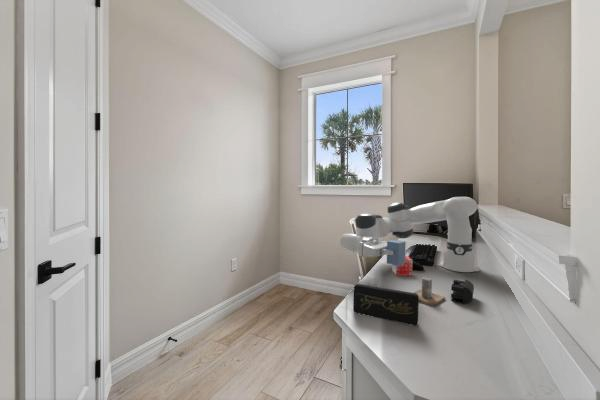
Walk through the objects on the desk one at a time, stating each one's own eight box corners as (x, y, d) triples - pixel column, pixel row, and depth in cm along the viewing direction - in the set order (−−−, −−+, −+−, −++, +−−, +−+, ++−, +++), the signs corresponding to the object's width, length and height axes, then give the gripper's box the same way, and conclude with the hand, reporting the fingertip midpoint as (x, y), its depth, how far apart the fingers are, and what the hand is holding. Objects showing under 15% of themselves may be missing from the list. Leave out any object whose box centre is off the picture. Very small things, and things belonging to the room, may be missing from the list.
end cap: (472, 306, 102) (473, 288, 101) (450, 301, 106) (451, 284, 105) (473, 297, 110) (474, 280, 109) (453, 293, 114) (454, 277, 113)
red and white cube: (412, 275, 136) (412, 259, 136) (396, 275, 137) (396, 259, 137) (407, 270, 144) (407, 255, 144) (392, 270, 145) (392, 255, 145)
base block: (408, 298, 108) (408, 278, 108) (419, 291, 115) (420, 273, 115) (434, 306, 101) (434, 285, 101) (444, 299, 108) (445, 279, 107)
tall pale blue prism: (386, 263, 116) (387, 241, 116) (393, 260, 120) (393, 239, 119) (398, 266, 112) (399, 243, 112) (405, 263, 116) (405, 241, 115)
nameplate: (353, 312, 96) (353, 285, 96) (354, 310, 98) (355, 283, 97) (417, 326, 87) (418, 295, 86) (418, 323, 89) (418, 293, 88)
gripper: (382, 249, 132) (409, 254, 122) (356, 256, 119) (385, 263, 108) (382, 236, 132) (410, 241, 122) (356, 242, 118) (385, 247, 108)
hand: (398, 251), depth 115 cm, fingers closed on tall pale blue prism, 5 cm apart
